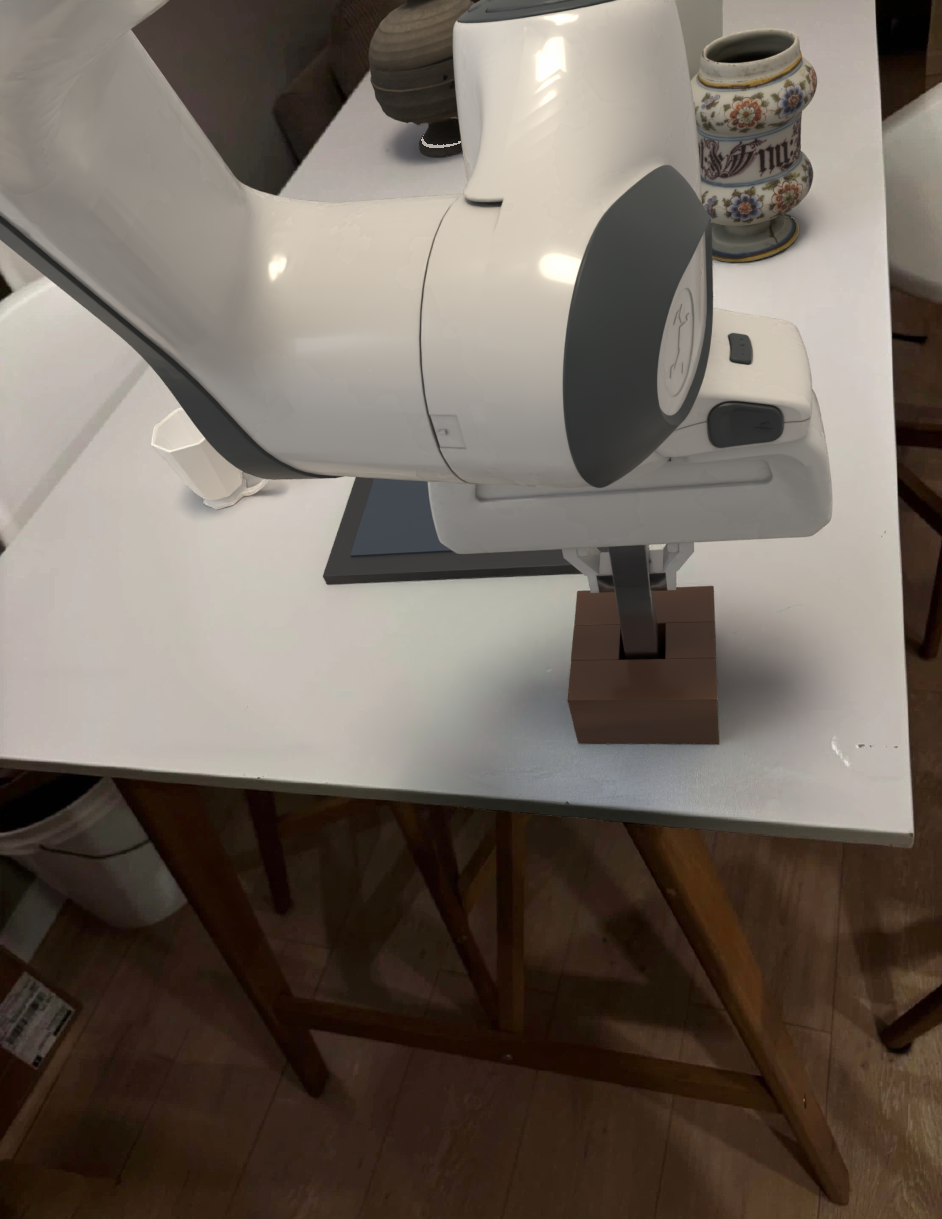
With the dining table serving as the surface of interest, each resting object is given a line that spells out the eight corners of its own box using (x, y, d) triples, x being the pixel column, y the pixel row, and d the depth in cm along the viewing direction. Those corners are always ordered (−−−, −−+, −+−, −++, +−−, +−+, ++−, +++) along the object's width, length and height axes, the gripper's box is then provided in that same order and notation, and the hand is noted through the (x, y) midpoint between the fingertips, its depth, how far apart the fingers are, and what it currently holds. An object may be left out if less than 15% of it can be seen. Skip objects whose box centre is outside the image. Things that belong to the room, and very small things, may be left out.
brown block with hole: (719, 744, 55) (717, 699, 51) (577, 744, 57) (566, 700, 54) (715, 633, 61) (713, 585, 57) (586, 636, 63) (577, 590, 59)
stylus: (662, 697, 58) (644, 534, 47) (631, 698, 58) (606, 536, 47) (662, 672, 59) (645, 508, 48) (632, 673, 59) (608, 510, 49)
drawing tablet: (623, 571, 66) (622, 560, 65) (326, 584, 72) (321, 574, 72) (638, 282, 91) (637, 271, 90) (416, 310, 97) (413, 300, 97)
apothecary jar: (814, 203, 93) (826, 8, 80) (804, 266, 86) (816, 63, 73) (696, 212, 98) (689, 28, 84) (678, 271, 91) (668, 81, 77)
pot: (402, 117, 134) (372, -41, 118) (519, 109, 130) (504, -55, 114) (371, 176, 123) (334, 12, 108) (498, 170, 119) (478, -2, 104)
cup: (209, 468, 87) (170, 401, 81) (300, 467, 84) (266, 397, 78) (178, 519, 83) (135, 452, 77) (272, 520, 79) (235, 450, 73)
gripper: (383, 445, 42) (452, 630, 52) (851, 405, 36) (827, 620, 47) (408, 366, 46) (468, 552, 56) (834, 319, 40) (815, 535, 51)
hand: (634, 583), depth 51 cm, fingers closed on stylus, 2 cm apart
